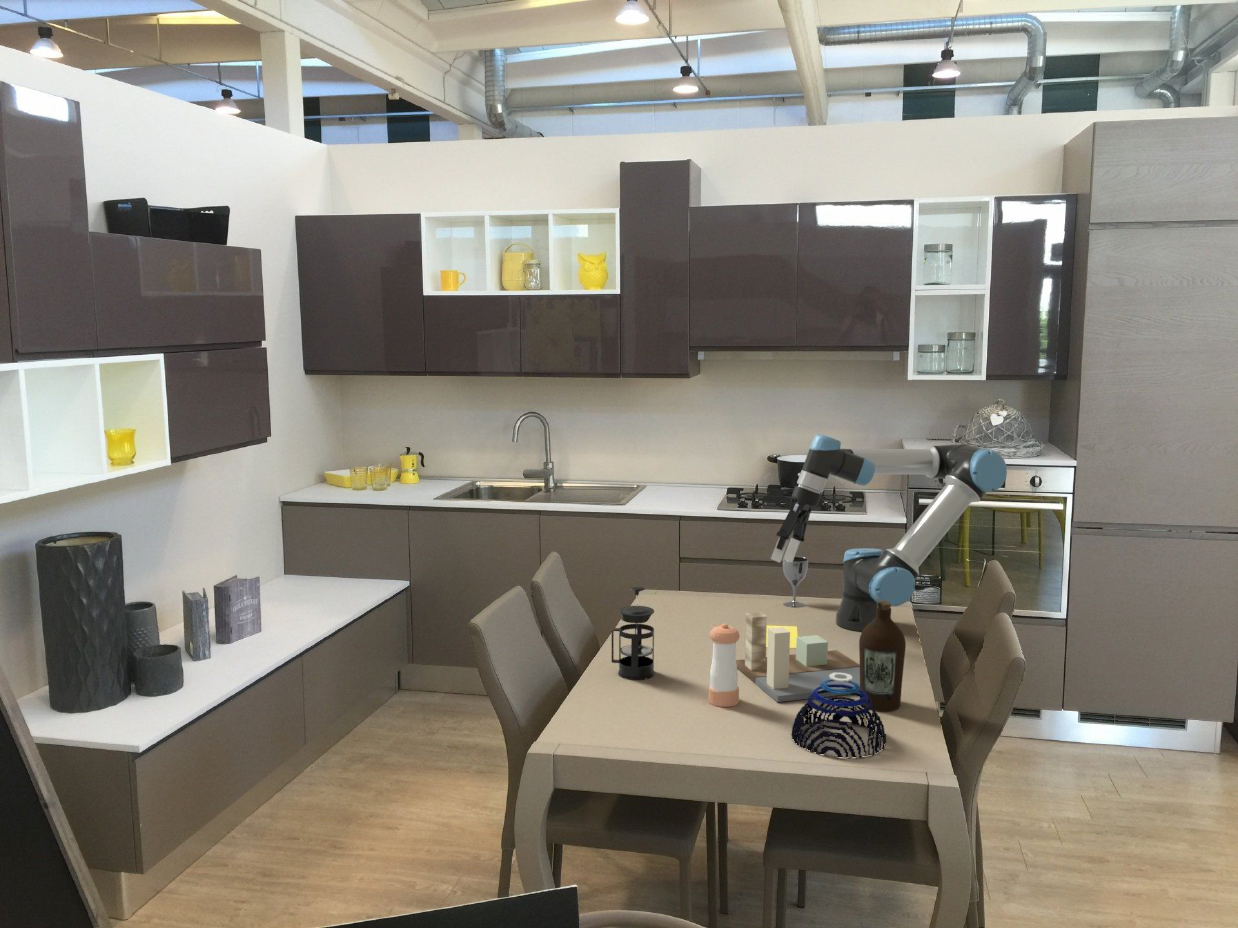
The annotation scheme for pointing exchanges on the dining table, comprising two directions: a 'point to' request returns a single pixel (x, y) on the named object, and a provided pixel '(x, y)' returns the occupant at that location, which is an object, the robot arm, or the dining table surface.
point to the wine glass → (795, 577)
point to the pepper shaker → (724, 667)
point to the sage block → (811, 650)
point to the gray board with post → (796, 684)
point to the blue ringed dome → (838, 718)
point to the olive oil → (882, 660)
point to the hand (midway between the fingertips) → (781, 561)
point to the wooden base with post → (757, 658)
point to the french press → (635, 642)
